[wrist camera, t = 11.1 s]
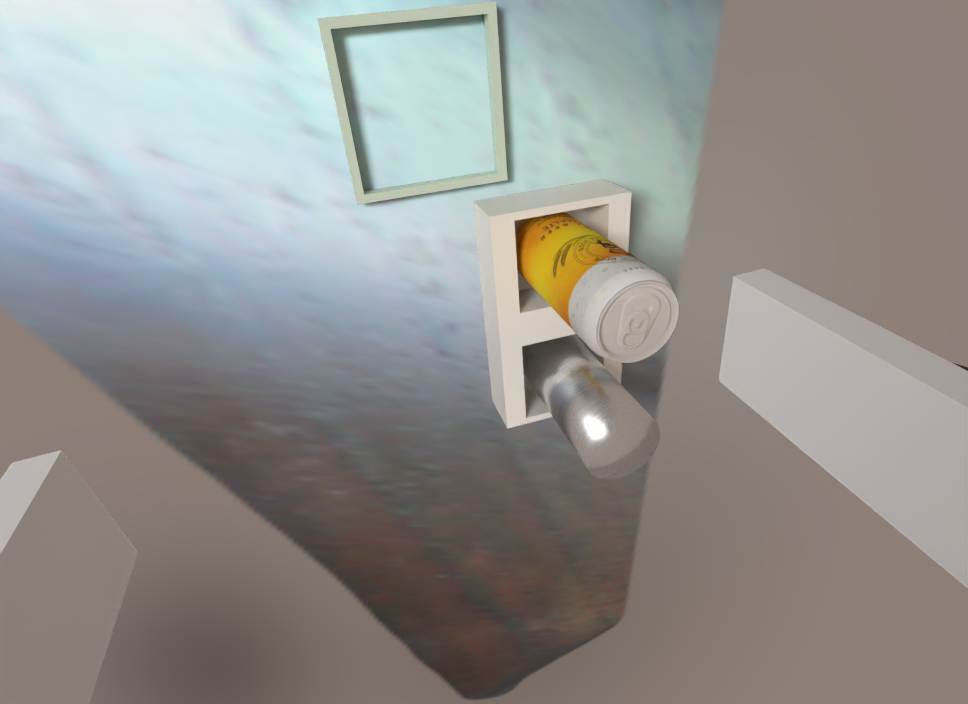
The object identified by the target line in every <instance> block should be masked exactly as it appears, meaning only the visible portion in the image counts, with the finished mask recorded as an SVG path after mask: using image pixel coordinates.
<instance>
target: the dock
mask: <svg viewBox="0 0 968 704" xmlns="http://www.w3.org/2000/svg"><path fill="white" fill-rule="evenodd" d="M631 193H632V192H631V191H629V190H627V189H624V188H622V187H620V186H618V185H615V184H613V183H611V182H608V181H606V180H604V179H601V180H595V181H589V182H583V183H577V184H571V185H566V186H560V187H554V188H548V189H542V190H536V191H530V192H524V193H518V194H512V195H507V196H501V197H495V198H489V199H483V200H477V201H473V211H474V221H475V231H476V241H477V251H478V261H479V271H480V281H481V291H482V301H483V311H484V322H485V332H486V342H487V352H488V362H489V372H490V382H491V392H492V401H493V403H494V404H495V406H496V408H497V410H498V412H499V414H500V416H501V418H502V419H503V421H504V423H505V425H506V427H507V428H511V427H515V426H519V425H523V424H526V423H530V422H534V421H538V420H542V419H546V418H549V417H553V416H552V415H551V413H550V412H549V410H548V409H547V407H546V406H545V405H544V403H543V402H542V400H541V399H540V397H539V396H538V394H537V393H536V391H535V390H534V388H533V387H532V385H531V384H530V382H529V381H528V379H527V378H526V376H525V375H524V373H523V356H522V346H525V345H530V344H534V343H539V342H543V341H547V340H552V339H556V338H560V337H565V336H569V335H573V334H574V335H575V336H576V337H577V338H578V339H579V340H580V341H581V342H582V343H583V344H584V345H585V347H586V348H587V349H588V350H589V351H590V352H591V353H592V354H593V355H594V356H595V357H596V358H597V359H598V360H599V361H600V363H601V364H602V365H603V366H604V367H605V368H606V369H607V370H608V371H609V372H610V373H611V374H612V375H613V376H614V377H615V378H616V380H617V381H618V382H619V383H620V384H621V375H622V363H621V362H617V361H614V360H612V359H606V358H603V357H601V356H599V355H597V354H596V353H594V352H593V351H592V350H591V349H590V348H589V347H588V345H587V344H586V343H585V342H584V341H583V340H582V339H581V338H580V337H579V336H578V335H577V334H576V333H575V332H574V331H573V330H572V328H571V327H570V326H569V325H568V324H567V323H566V322H565V321H564V320H563V319H562V318H561V317H560V316H559V315H558V314H557V313H556V312H555V310H554V309H553V308H552V307H551V306H550V305H549V304H548V303H547V302H546V301H545V300H544V299H543V298H542V297H541V296H540V295H539V293H538V292H537V291H536V290H535V289H534V288H533V287H532V286H531V285H530V284H529V283H528V282H527V281H526V280H525V279H524V278H523V276H522V275H521V274H520V273H519V272H518V271H517V256H516V239H515V237H516V234H517V232H518V231H519V229H520V228H521V226H522V225H523V224H524V223H525V222H526V221H527V220H528V219H529V218H533V217H538V216H544V215H549V214H555V213H560V212H565V213H567V214H569V215H570V216H572V217H573V218H575V219H576V220H578V221H580V222H581V223H583V224H584V225H586V226H587V227H589V228H591V229H592V230H594V231H595V232H597V233H598V234H600V235H601V236H603V237H605V238H606V239H608V240H609V241H611V242H612V243H614V244H616V245H617V246H619V247H620V248H622V249H623V250H625V251H626V252H628V247H629V229H630V211H631Z"/></svg>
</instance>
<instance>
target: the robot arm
mask: <svg viewBox="0 0 968 704" xmlns="http://www.w3.org/2000/svg"><path fill="white" fill-rule="evenodd" d="M719 381H720V382H721V383H722V384H723V385H725V386H726V387H727V388H728V389H729V390H731V391H732V392H733V393H734V394H735V395H736V396H738V397H739V398H740V399H741V400H742V401H744V402H745V403H746V404H747V405H749V406H750V407H751V408H752V409H753V410H755V411H756V412H757V413H758V414H759V415H761V416H762V417H763V418H764V419H765V420H766V421H768V422H769V423H770V424H771V425H772V426H774V427H775V428H776V429H778V430H779V431H780V432H781V433H782V434H783V435H785V436H786V437H787V438H788V439H789V440H791V441H792V442H793V443H794V444H795V445H797V446H798V447H799V448H800V449H801V450H802V451H804V452H805V453H806V454H807V455H808V456H810V457H811V458H812V459H813V460H814V461H816V462H817V463H818V464H819V465H820V466H822V467H823V468H824V469H825V470H827V471H828V472H829V473H830V474H831V475H832V476H834V477H835V478H836V479H837V480H838V481H840V482H841V483H842V484H843V485H845V486H846V487H847V488H848V489H849V490H850V491H852V492H853V493H854V494H855V495H857V496H858V497H859V498H860V499H861V500H862V501H864V502H865V503H866V504H867V505H869V506H870V507H871V508H872V509H873V510H874V511H876V512H877V513H878V514H879V515H881V516H882V517H883V518H884V519H885V520H887V521H888V522H889V523H890V524H891V525H893V526H894V527H895V528H896V529H897V530H899V531H900V532H901V533H902V534H903V535H905V536H906V537H907V538H908V539H909V540H911V541H912V542H913V543H914V544H915V545H916V546H918V547H919V548H920V549H921V550H922V551H924V552H925V553H926V554H927V555H928V556H930V557H931V558H932V559H933V560H934V561H936V562H937V563H938V564H939V565H940V566H942V567H943V568H945V570H946V571H948V572H949V573H950V574H951V575H953V576H954V577H955V578H956V579H957V580H959V581H960V582H961V583H962V584H963V585H965V586H966V587H967V588H968V368H967V367H964V366H961V365H957V364H954V363H951V362H949V361H947V360H945V359H943V358H941V357H939V356H937V355H935V354H933V353H931V352H929V351H927V350H925V349H923V348H921V347H919V346H917V345H915V344H913V343H911V342H909V341H908V340H906V339H904V338H902V337H900V336H898V335H896V334H894V333H892V332H890V331H888V330H886V329H884V328H882V327H880V326H878V325H876V324H874V323H872V322H870V321H868V320H866V319H864V318H862V317H860V316H858V315H856V314H854V313H852V312H850V311H848V310H846V309H844V308H842V307H840V306H838V305H836V304H834V303H832V302H830V301H828V300H826V299H824V298H822V297H820V296H818V295H816V294H814V293H812V292H811V291H809V290H807V289H805V288H803V287H800V286H799V285H797V284H795V283H793V282H791V281H789V280H787V279H785V278H783V277H781V276H779V275H777V274H775V273H773V272H771V271H769V270H767V269H765V268H763V269H759V270H756V271H752V272H748V273H744V274H740V275H737V276H734V277H733V283H732V290H731V297H730V305H729V311H728V318H727V325H726V332H725V339H724V346H723V353H722V360H721V367H720V374H719ZM137 554H138V552H137V550H136V549H135V548H134V546H133V545H132V544H131V542H130V541H129V540H128V538H127V537H126V536H125V534H124V533H123V532H122V530H121V529H120V528H119V526H118V525H117V524H116V522H115V521H114V520H113V518H112V517H111V515H110V514H109V513H108V512H107V510H106V509H105V508H104V506H103V505H102V503H101V502H100V501H99V499H98V498H97V497H96V495H95V494H94V493H93V491H92V490H91V489H90V487H89V486H88V485H87V483H86V482H85V481H84V479H83V478H82V477H81V475H80V474H79V473H78V471H77V470H76V469H75V467H74V466H73V465H72V463H71V462H70V461H69V459H68V458H67V457H66V455H65V454H64V453H63V451H62V450H60V451H56V452H52V453H48V454H44V455H41V456H37V457H33V458H29V459H25V460H21V461H17V462H14V463H12V464H11V465H10V466H9V468H8V470H7V471H6V472H5V474H4V475H3V477H2V478H1V480H0V704H89V702H90V699H91V696H92V693H93V690H94V687H95V684H96V681H97V678H98V674H99V671H100V668H101V665H102V662H103V659H104V656H105V653H106V650H107V647H108V644H109V640H110V637H111V634H112V631H113V628H114V625H115V622H116V619H117V616H118V613H119V610H120V606H121V603H122V600H123V597H124V594H125V591H126V588H127V585H128V581H129V579H130V576H131V573H132V569H133V566H134V563H135V560H136V557H137Z"/></svg>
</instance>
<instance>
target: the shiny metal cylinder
mask: <svg viewBox="0 0 968 704" xmlns="http://www.w3.org/2000/svg"><path fill="white" fill-rule="evenodd" d="M522 356H523V373H524V375H525V376H526V378H527V379H528V381H529V382H530V384H531V385H532V387H533V388H534V390H535V391H536V393H537V394H538V396H539V397H540V399H541V400H542V402H543V403H544V405H545V406H546V407H547V409H548V410H549V412H550V413H551V415H552V416H553V418H554V419H555V421H556V422H557V424H558V425H559V427H560V428H561V430H562V431H563V433H564V434H565V436H566V437H567V439H568V440H569V442H570V443H571V445H572V446H573V448H574V449H575V451H576V452H577V454H578V455H579V457H580V458H581V460H582V461H583V463H584V464H585V466H586V467H587V469H588V470H589V471H590V473H592V474H593V475H594V476H596V477H598V478H601V479H617V478H621V477H624V476H627V475H629V474H631V473H633V472H635V471H636V470H638V469H639V468H640V467H642V466H643V465H644V464H645V463H646V462H647V461H648V460H649V459H650V458H651V456H652V455H653V454H654V452H655V450H656V448H657V446H658V443H659V439H660V430H659V426H658V424H657V422H656V421H655V420H654V419H653V418H652V417H651V416H650V415H649V414H648V413H647V412H646V410H645V409H644V408H643V407H642V406H641V405H640V404H639V403H638V402H637V401H636V400H635V399H634V398H633V397H632V396H631V394H630V393H629V392H628V391H627V390H626V389H625V388H624V387H623V386H622V385H621V384H620V383H619V382H618V381H617V380H616V378H615V377H614V376H613V375H612V374H611V373H610V372H609V371H608V370H607V369H606V368H605V367H604V366H603V365H602V364H601V363H600V361H599V360H598V359H597V358H596V357H595V356H594V355H593V354H592V353H591V352H590V351H589V350H588V349H587V348H586V347H585V345H584V344H583V343H582V342H581V341H580V340H579V339H578V338H577V337H576V336H575V335H574V334H573V335H569V336H565V337H560V338H556V339H552V340H547V341H543V342H539V343H534V344H530V345H525V346H522Z"/></svg>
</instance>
